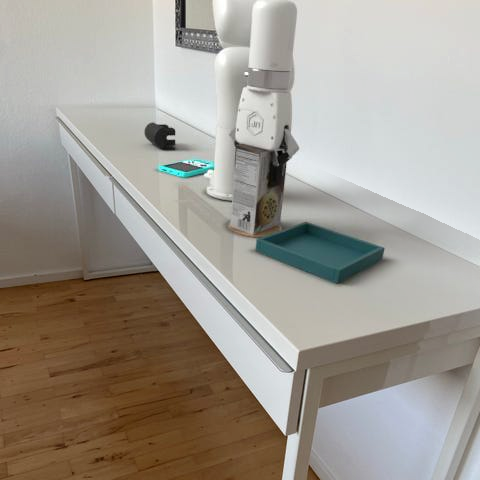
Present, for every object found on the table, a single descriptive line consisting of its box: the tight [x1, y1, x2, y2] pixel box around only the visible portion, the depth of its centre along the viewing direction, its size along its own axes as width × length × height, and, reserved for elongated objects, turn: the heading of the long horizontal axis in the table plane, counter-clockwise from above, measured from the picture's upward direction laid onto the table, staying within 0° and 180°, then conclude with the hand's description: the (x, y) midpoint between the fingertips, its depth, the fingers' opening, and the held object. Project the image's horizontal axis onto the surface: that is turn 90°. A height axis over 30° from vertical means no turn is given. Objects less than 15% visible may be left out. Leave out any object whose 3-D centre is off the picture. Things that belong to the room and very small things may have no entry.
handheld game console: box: [157, 158, 214, 178], centre depth 141 cm, size 10×16×1 cm, turn 143°
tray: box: [254, 221, 385, 284], centre depth 92 cm, size 18×16×2 cm
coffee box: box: [230, 144, 288, 235], centre depth 99 cm, size 9×6×16 cm
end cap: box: [143, 121, 176, 151], centre depth 163 cm, size 10×7×7 cm
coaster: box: [228, 221, 283, 238], centre depth 103 cm, size 11×11×1 cm
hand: (259, 180), depth 99 cm, fingers closed on coffee box, 6 cm apart
